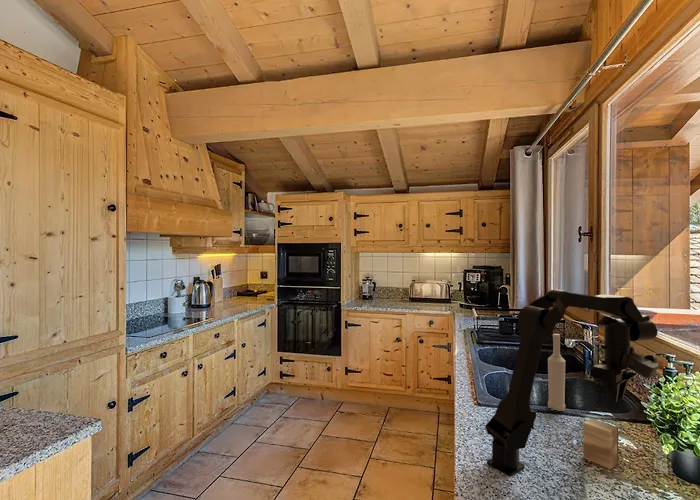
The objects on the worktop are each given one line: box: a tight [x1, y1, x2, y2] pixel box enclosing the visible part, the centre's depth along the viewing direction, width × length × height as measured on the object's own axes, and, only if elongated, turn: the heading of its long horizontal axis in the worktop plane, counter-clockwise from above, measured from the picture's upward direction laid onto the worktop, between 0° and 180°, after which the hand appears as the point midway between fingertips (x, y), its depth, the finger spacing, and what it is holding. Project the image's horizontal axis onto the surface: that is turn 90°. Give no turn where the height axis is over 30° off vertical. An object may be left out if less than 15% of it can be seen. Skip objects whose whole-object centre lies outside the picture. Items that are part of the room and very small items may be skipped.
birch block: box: [583, 417, 619, 470], centre depth 94 cm, size 4×6×9 cm
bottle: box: [547, 333, 566, 412], centre depth 124 cm, size 5×5×25 cm
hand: (617, 400), depth 99 cm, fingers open, 3 cm apart
